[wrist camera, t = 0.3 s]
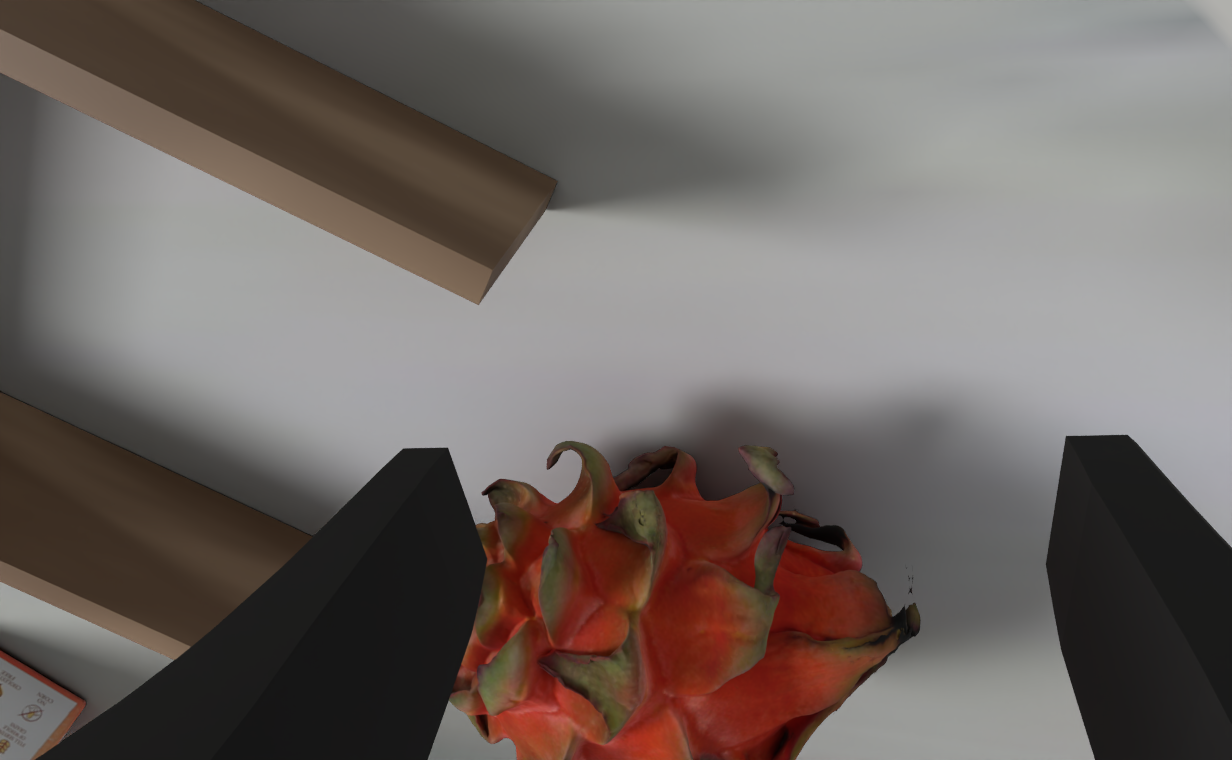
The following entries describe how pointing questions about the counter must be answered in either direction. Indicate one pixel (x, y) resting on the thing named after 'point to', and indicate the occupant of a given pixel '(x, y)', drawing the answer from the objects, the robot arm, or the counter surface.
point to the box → (276, 173)
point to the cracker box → (32, 711)
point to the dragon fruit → (666, 618)
